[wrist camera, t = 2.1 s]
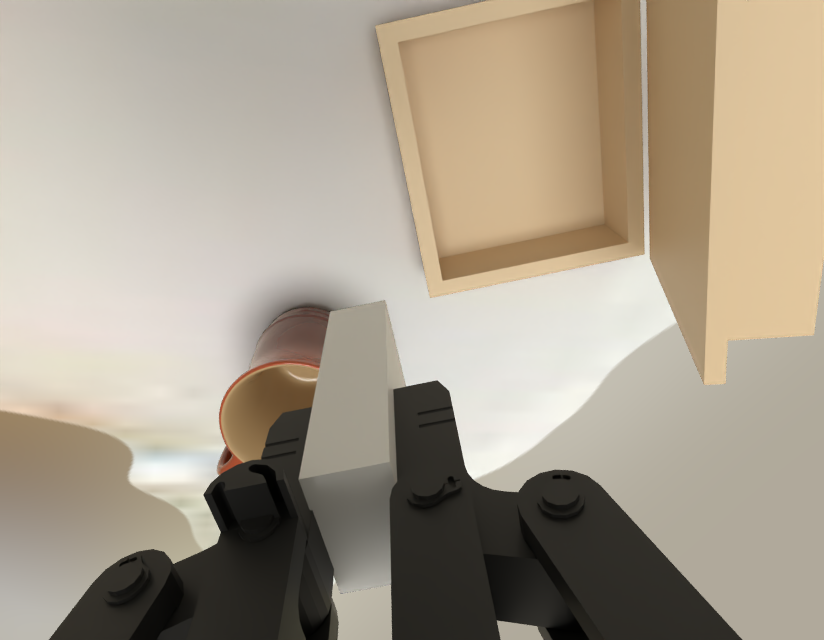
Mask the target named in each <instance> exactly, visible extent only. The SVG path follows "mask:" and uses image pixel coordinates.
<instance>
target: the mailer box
mask: <svg viewBox="0 0 824 640" xmlns="http://www.w3.org/2000/svg"><path fill="white" fill-rule="evenodd" d="M375 28H376V33H377V38H378V43H379V48H380V53H381V58H382V63H383V68H384V73H385V78H386V83H387V88H388V93H389V98H390V103H391V108H392V113H393V118H394V122H395V127H396V132H397V137H398V142H399V147H400V152H401V157H402V162H403V167H404V172H405V177H406V182H407V187H408V192H409V197H410V202H411V207H412V212H413V217H414V222H415V227H416V232H417V237H418V242H419V247H420V252H421V257H422V262H423V267H424V272H425V276H426V281H427V286H428V291H429V295H430V298H433V297H437V296H442V295H447V294H452V293H457V292H462V291H467V290H472V289H477V288H482V287H486V286H491V285H496V284H501V283H506V282H511V281H516V280H521V279H526V278H531V277H536V276H540V275H545V274H550V273H555V272H560V271H565V270H570V269H575V268H580V267H585V266H589V265H594V264H599V263H604V262H609V261H614V260H619V259H624V258H629V257H634V256H639V255H643V254H644V199H643V142H642V85H641V28H640V0H488V1H484V2H479V3H475V4H470V5H466V6H461V7H457V8H452V9H448V10H443V11H439V12H434V13H430V14H425V15H421V16H416V17H412V18H407V19H403V20H398V21H394V22H389V23H385V24H380V25H376V26H375Z"/></svg>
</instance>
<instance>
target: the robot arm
mask: <svg viewBox="0 0 824 640" xmlns="http://www.w3.org/2000/svg"><path fill="white" fill-rule="evenodd" d="M204 497H205V499H206V501H207V504H208V506H209V508H210V510H211V512H212V514H213V516H214V519H215V521H216V523H217V525H218V527H219V529H220V531H221V534H220V537H219V540H218V543H217V544H215V545H213V546H212V547H210V548H208V549H206V550H204V551H202V552H200V553H198V554H195V555H193V556H191V557H188V558H186V559H184V560H182V561H179V562H177V563H175V564H173V563H172V561H171V559H170V558H169V557H168V556H167V555H166V554H165V552H162V551H158V550H154V549H151V550H145V551H139V552H136V553H134V554H131V555H129V556H127V557H124V558H122V559H120V560H119V561H117V562H116V563H115V564H113V565H112V566H110V567H109V568H107V569H106V570H105V571H104V572H103V573H102V574H101V575H100V576H99V577H98V578H97V579H96V580H95V581H94V582H93V583H92V585H91V586H90V587H89V589H88V590H87V591H86V592H85V594H84V595H83V597H82V598H81V599H80V600H79V602H78V603H77V604H76V606H75V607H74V608H73V609H72V611H71V612H70V613H69V614H68V616H67V617H66V618H65V620H64V621H63V622H62V623H61V625H60V626H59V627H58V629H57V630H56V631H55V633H54V634H53V635H52V636H51V638H50V639H49V640H337V637H338V616H337V610H336V607H335V605H334V602H333V599H332V587H333V576H334V577H335V580H336V583H337V586H338V588H339V591H340V593H341V594H343V593H348V592H354V591H360V590H365V589H370V588H376V587H381V586H386V585H391V599H392V640H500V635H499V631H498V625H497V620H498V621H505V622H512V623H519V624H527V625H533V626H537V627H538V630H539V632H540V634H541V636H542V637H543V639H544V640H742V639H741V638H740V637H739V636H738V635H737V634H736V632H735V631H734V630H733V629H732V628H731V627H730V626H729V625H728V624H727V623H726V622H725V621H724V620H723V618H722V617H721V616H720V615H719V614H718V613H717V612H716V611H715V610H714V609H713V607H712V606H711V605H710V604H709V603H708V602H707V601H706V600H705V599H704V598H703V597H702V596H701V594H700V593H699V592H698V591H697V590H696V589H695V588H694V587H693V586H692V585H691V584H690V582H689V581H688V580H687V579H686V578H685V577H684V576H683V575H682V574H681V573H680V572H679V571H678V570H677V568H676V567H675V566H674V565H673V564H672V563H671V562H670V561H669V560H668V559H667V558H666V556H665V555H664V554H663V553H662V552H661V551H660V550H659V549H658V548H657V547H656V545H655V544H654V543H653V542H652V541H651V540H650V539H649V538H648V537H647V536H646V535H645V534H644V532H643V531H642V530H641V529H640V528H639V527H638V526H637V525H636V524H635V523H634V522H633V521H632V520H631V518H630V517H629V516H628V515H627V514H626V513H625V512H624V511H623V510H622V509H621V508H620V506H619V505H618V504H617V503H616V502H615V501H614V500H613V499H612V498H611V497H610V496H609V495H608V493H607V492H606V491H605V490H604V489H603V488H602V487H601V486H600V485H599V484H598V483H596V482H595V481H594V480H592V479H591V478H590V477H588V476H586V475H584V474H580V473H578V472H574V471H568V470H552V471H548V472H543V473H540V474H538V475H536V476H534V477H532V478H531V479H529V480H527V481H526V483H525V484H524V485H523V486H522V488H521V489H520V490H519V492H504V491H498V490H492V489H489V488H487V487H484V486H482V485H480V484H479V483H477V482H475V481H474V480H473V479H472V478H471V477H470V475H469V474H468V473H467V470H466V468H465V465H464V460H463V455H462V450H461V446H460V441H459V436H458V431H457V426H456V421H455V417H454V412H453V407H452V402H451V397H450V393H449V391H448V390H447V389H446V388H445V387H444V386H443V385H442V384H441V383H440V382H438V381H432V382H427V383H422V384H417V385H412V386H407V387H406V385H405V381H404V376H403V372H402V368H401V364H400V360H399V355H398V351H397V347H396V343H395V339H394V335H393V330H392V326H391V322H390V318H389V314H388V309H387V305H386V301H385V300H384V301H379V302H374V303H369V304H364V305H360V306H355V307H350V308H345V309H340V310H335V311H330V315H329V320H328V326H327V331H326V336H325V342H324V347H323V352H322V358H321V363H320V368H319V373H318V379H317V384H316V389H315V395H314V400H313V405H312V407H309V408H304V409H299V410H294V411H289V412H284V413H282V414H281V415H280V416H279V418H278V419H277V420H276V421H275V422H274V424H273V425H272V426H271V427H270V428H269V432H268V435H267V439H266V442H265V448H264V449H263V452H262V456H261V459H260V460H250V461H247V462H244V463H241V464H238V465H236V466H234V467H232V468H230V469H228V470H227V471H225V472H223V473H222V474H221V475H219V476H218V477H217V478H216V479H215V480H214V481H213V482H212V483H211V484H210V485H209V487H208V488H207V490H206V492H205V493H204Z"/></svg>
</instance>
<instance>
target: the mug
mask: <svg viewBox="0 0 824 640" xmlns="http://www.w3.org/2000/svg"><path fill="white" fill-rule="evenodd" d="M329 315H330V312H328V311H325V310H322V309H318V308H309V307H306V308H297V309H293V310H290V311H288V312H286V313H284V314H282V315H280V316H279V317H278V318H276V319H275V320H274V321H273V322H272V324H271V325H270V326H269V327H268V328H267V329H266V330H265V331H264V332H263V334H262V335H261V337H260V339H259V340H258V343H257V346H256V350H255V353H254V355H253V358H252V361H251V364H250V368H249V370H248V371H247V372H245V373H244V374H242V375H241V376H240V377H239V378H238V379H237V380H236V381H235V382H234V383H233V384H232V385H231V386H230V388H229V389H228V390H227V392H226V394H225V396H224V398H223V400H222V403H221V407H220V412H219V424H220V430H221V434H222V437H223V439H224V442H225V444H226V447H225V449H224V451H223V453H222V455H221V457H220V460H219V462H218V465H217V473H218V475H221V474H222V473H223V472H225V471H227V470H228V469H230V468H232V467H234V466H236V465H238V464H241V463H244V462H247V461H250V460H260V459H261V456H262V452H263V449H264V448H265V442H266V439H267V435H268V432H269V428H270V427H271V426H272V425H273V424H274V422H275V421H276V420H277V419H278V418H279V416H280V415H281V414H282V413H284V412H289V411H294V410H299V409H304V408H309V407H312V405H313V400H314V395H315V389H316V384H317V379H318V373H319V368H320V363H321V358H322V352H323V347H324V342H325V336H326V331H327V326H328V320H329Z"/></svg>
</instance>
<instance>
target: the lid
mask: <svg viewBox="0 0 824 640" xmlns="http://www.w3.org/2000/svg"><path fill="white" fill-rule="evenodd" d="M646 2H647V78H648V154H649V230H650V260H651V262H652V265H653V267H654V269H655V272H656V274H657V276H658V279H659V281H660V283H661V286H662V288H663V290H664V293H665V295H666V297H667V300H668V302H669V304H670V307H671V309H672V311H673V314H674V316H675V318H676V321H677V323H678V325H679V328H680V330H681V332H682V335H683V337H684V339H685V341H686V344H687V346H688V349H689V351H690V353H691V355H692V358H693V360H694V363H695V365H696V367H697V370H698V372H699V374H700V377H701V379H702V381H703V384H704V385H711V384H725V382H726V364H727V363H726V362H727V345H728V341H729V340H745V339H760V338H777V337H791V336H808V335H814V330H815V321H816V314H817V306H818V299H819V291H820V283H821V275H822V268H823V261H824V0H646Z"/></svg>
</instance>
